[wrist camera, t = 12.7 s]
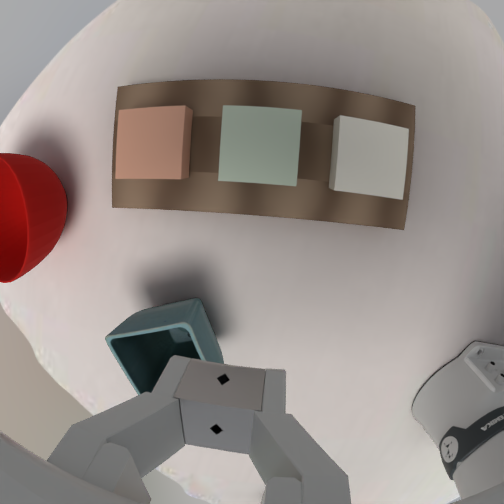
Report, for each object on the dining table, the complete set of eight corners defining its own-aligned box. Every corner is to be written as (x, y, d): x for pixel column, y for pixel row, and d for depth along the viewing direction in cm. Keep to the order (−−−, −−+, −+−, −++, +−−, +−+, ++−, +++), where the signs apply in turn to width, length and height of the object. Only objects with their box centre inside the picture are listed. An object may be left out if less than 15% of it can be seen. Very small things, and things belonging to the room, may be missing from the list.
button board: (404, 109, 24) (415, 105, 22) (394, 224, 28) (404, 230, 25) (129, 91, 25) (117, 86, 23) (123, 203, 29) (112, 207, 26)
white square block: (387, 133, 25) (408, 128, 20) (382, 193, 27) (402, 199, 22) (328, 123, 25) (340, 115, 20) (323, 185, 27) (334, 190, 22)
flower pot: (235, 346, 33) (225, 400, 24) (168, 357, 34) (144, 406, 26) (210, 278, 31) (188, 321, 22) (139, 295, 32) (102, 336, 23)
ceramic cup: (-5, 199, 30) (-55, 214, 20) (63, 128, 27) (2, 126, 17) (29, 279, 33) (-18, 308, 23) (105, 226, 30) (49, 253, 20)
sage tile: (296, 119, 25) (301, 110, 20) (291, 182, 27) (296, 186, 22) (231, 114, 25) (223, 105, 21) (227, 177, 27) (218, 180, 22)
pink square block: (199, 114, 25) (185, 105, 21) (195, 176, 27) (180, 179, 23) (141, 116, 26) (118, 110, 21) (138, 175, 27) (115, 178, 23)
